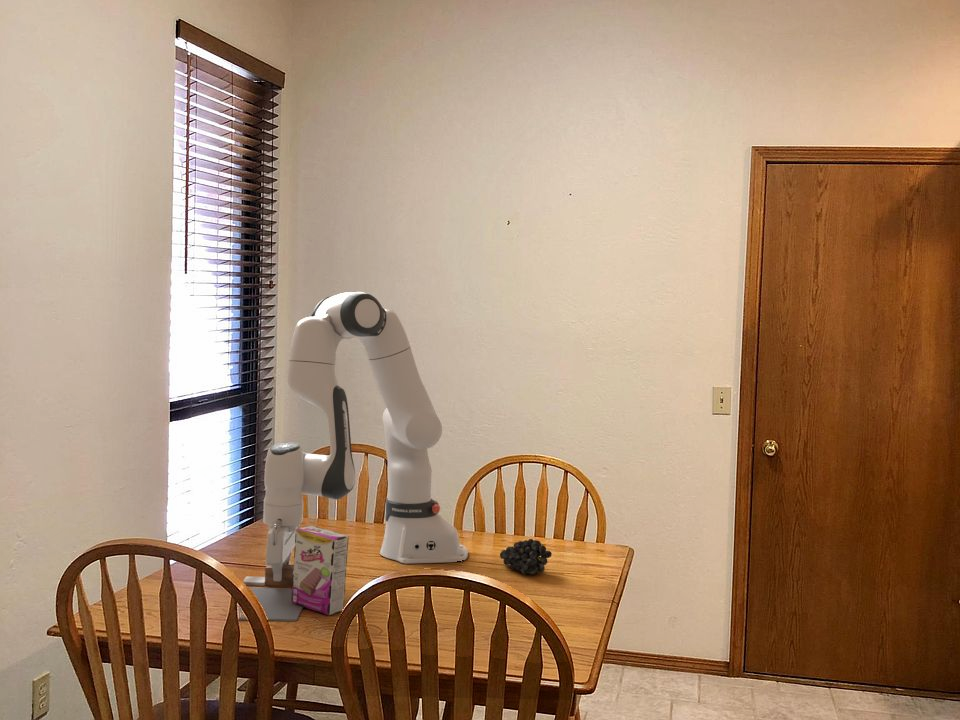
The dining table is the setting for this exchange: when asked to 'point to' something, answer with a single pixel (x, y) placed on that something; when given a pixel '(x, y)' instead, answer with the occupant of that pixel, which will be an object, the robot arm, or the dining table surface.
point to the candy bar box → (319, 569)
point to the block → (268, 579)
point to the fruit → (526, 556)
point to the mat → (276, 604)
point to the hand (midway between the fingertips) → (281, 574)
